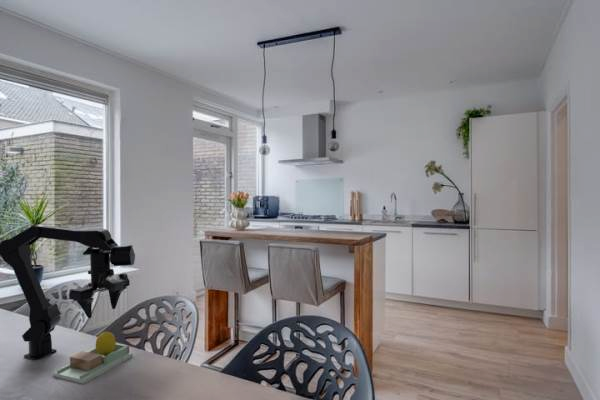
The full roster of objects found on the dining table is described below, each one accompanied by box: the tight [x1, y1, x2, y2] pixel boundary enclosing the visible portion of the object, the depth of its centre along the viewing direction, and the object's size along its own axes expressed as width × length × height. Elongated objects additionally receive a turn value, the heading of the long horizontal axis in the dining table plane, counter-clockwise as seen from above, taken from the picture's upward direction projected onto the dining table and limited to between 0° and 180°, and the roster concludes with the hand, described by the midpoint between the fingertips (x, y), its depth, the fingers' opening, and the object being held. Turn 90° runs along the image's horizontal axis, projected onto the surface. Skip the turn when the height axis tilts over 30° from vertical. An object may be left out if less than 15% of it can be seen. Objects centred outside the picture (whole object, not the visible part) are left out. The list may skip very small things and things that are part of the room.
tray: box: [52, 342, 134, 385], centre depth 107 cm, size 12×17×3 cm
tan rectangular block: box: [69, 350, 102, 371], centre depth 104 cm, size 8×4×3 cm, turn 69°
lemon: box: [95, 330, 117, 356], centre depth 111 cm, size 6×6×8 cm
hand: (102, 313), depth 118 cm, fingers open, 9 cm apart
